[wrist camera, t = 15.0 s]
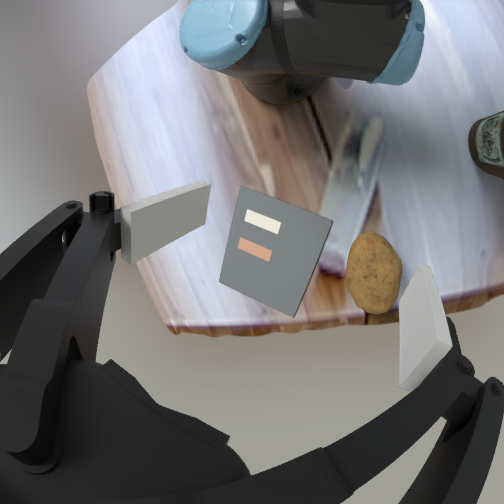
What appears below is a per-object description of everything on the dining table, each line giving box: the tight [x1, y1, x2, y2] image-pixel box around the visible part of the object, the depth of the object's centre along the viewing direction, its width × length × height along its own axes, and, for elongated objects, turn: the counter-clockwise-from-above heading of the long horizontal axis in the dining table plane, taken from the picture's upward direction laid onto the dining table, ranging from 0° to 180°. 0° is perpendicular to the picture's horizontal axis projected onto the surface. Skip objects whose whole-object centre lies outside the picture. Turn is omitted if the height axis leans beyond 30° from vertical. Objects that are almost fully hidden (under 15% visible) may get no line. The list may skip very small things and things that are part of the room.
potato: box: [346, 231, 402, 315], centre depth 42 cm, size 10×14×8 cm
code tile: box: [219, 186, 332, 317], centre depth 53 cm, size 22×18×1 cm
